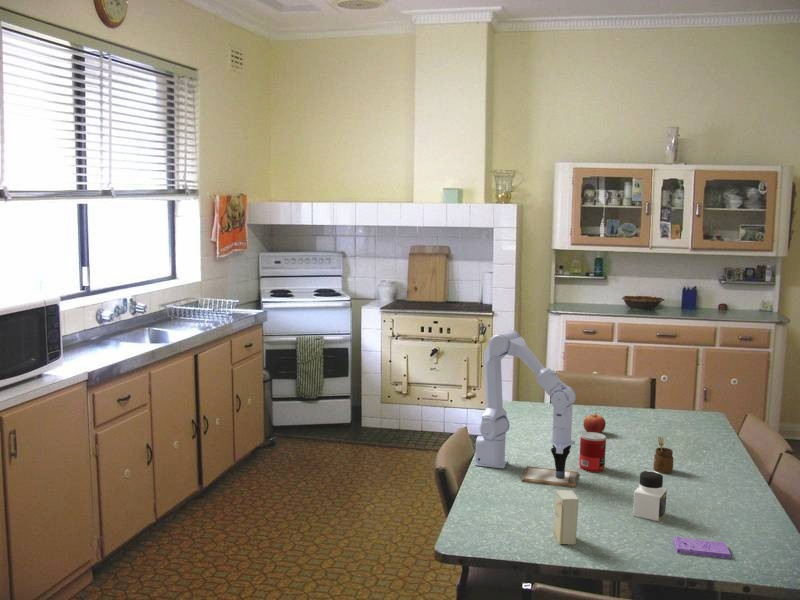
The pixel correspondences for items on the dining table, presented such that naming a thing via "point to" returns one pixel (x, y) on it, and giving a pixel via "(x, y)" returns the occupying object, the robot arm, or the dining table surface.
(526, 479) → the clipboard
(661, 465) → the utensil holder
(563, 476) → the blue cylindrical bottle
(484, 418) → the robot arm
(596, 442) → the canned food
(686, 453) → the dining table surface
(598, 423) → the apple
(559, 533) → the skincare box
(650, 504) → the medicine bottle
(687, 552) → the sponges
